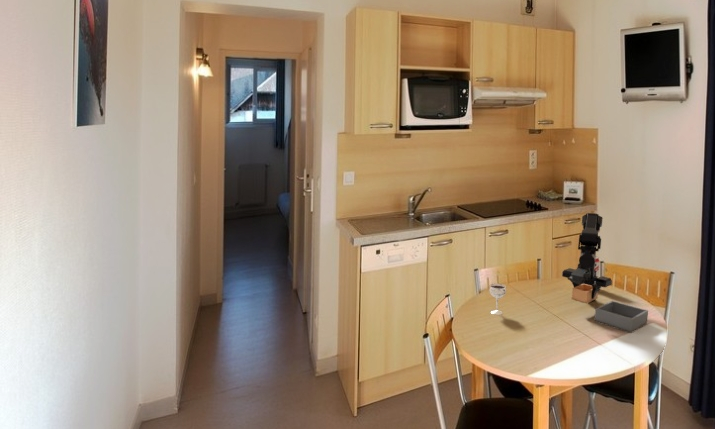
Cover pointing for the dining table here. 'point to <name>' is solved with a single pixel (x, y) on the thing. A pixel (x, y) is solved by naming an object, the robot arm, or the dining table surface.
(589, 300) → the orange crate
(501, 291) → the wineglass
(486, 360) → the dining table surface
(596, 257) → the beer can
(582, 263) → the robot arm
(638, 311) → the grey open box
